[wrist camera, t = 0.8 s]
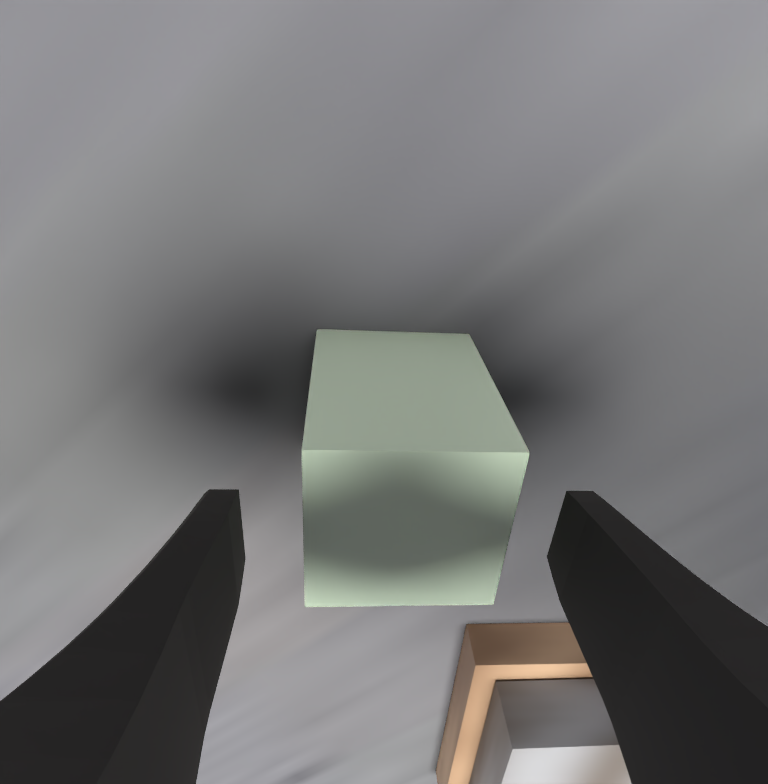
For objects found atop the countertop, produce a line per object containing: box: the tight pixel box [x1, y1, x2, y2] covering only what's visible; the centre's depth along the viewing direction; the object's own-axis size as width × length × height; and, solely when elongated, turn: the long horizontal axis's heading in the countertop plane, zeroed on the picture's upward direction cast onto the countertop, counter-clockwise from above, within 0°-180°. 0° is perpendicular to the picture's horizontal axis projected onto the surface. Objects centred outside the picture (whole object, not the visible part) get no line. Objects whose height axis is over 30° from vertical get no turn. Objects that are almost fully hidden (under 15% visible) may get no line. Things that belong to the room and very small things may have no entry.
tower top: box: [469, 679, 632, 784], centre depth 23 cm, size 10×10×2 cm
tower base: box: [436, 622, 593, 784], centre depth 25 cm, size 12×12×2 cm
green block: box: [302, 329, 530, 607], centre depth 14 cm, size 4×4×6 cm
